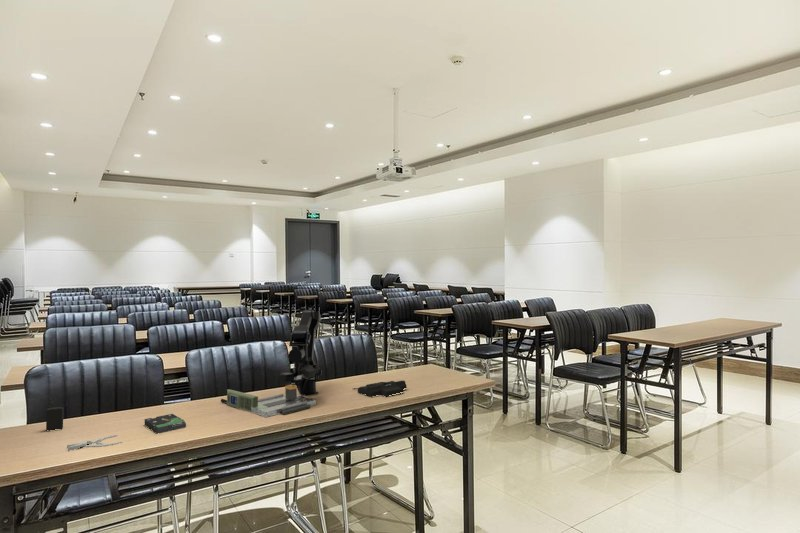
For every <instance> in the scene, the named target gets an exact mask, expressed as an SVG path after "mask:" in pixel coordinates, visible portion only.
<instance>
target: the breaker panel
mask: <svg viewBox="0 0 800 533" xmlns="http://www.w3.org/2000/svg"><path fill="white" fill-rule="evenodd" d="M304 401H307V405H308V404H309V405H310V407H311V406H315V405H317V404H316V399H314V398H312V397H307V396H305V395H301V394H297V399H294V400H288V399H286V396H285V395H283V396H282V397H278V398H273V399H269V400H265V401H260V402H258V406H255V407H251V411H252V412H253V414H256V415H258V416H261V417H263V418H268V417H273V416H276V415H281V414H282V413H279V411H280V410H281V409H282V407H284V406H288V405H292V404H296V403H300V402H304ZM252 412H251V413H252Z"/></svg>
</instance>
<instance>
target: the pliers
mask: <svg viewBox="0 0 800 533" xmlns="http://www.w3.org/2000/svg"><path fill="white" fill-rule="evenodd" d="M118 436H119V435H118V434H114V435H108V436H104V437H100V438H97V439H93V440H85V441H82V442H74V443H70V444H67V445H66V448H68V449H67V451H68V452H71V451H70V450H72V451H75V450H74V449H76V450H79V449H78V448H80V447H86V448H102V446H103V447H109V445H110V446H115V445H119V443H120V444H123V441H117V442H110V443H109V442H108V443H103V442H102V441H105V440H107V439H111V438H115V437H118ZM97 441H98V442H97ZM92 443H93V444H92ZM87 444H90V445H87ZM80 449H81V448H80Z"/></svg>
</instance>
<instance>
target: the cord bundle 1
mask: <svg viewBox="0 0 800 533" xmlns="http://www.w3.org/2000/svg"><path fill="white" fill-rule="evenodd" d="M307 409H311V406H310V405H309V404H308V405H307V401H304V402H300V403H296V404H292V405H288V406H284V407H282V409H281V410H280V411H279V413H281V414H282V415H284V416H285V415H287V414H292V413H296V412H299V411H304V410H307Z"/></svg>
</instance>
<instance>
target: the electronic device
mask: <svg viewBox="0 0 800 533" xmlns="http://www.w3.org/2000/svg"><path fill="white" fill-rule="evenodd" d="M404 388H407V383H406V381H405V380H397V381H395V380H390V381H379V382H374V383H368V384H366V385H365V386H364V385H363V386H359V387H356V388H353V390H357V393H359V394H361V393H362V394H361V395H363V394H366V395H368V396H367V397H369V396H371V397H370V398H373V397H372V396H376V395H384V396H389V395H392V394H396V393H400V392H403V393H404V391H403V389H404ZM407 389H408V388H407ZM366 395H365V396H366ZM384 396H383V397H384ZM376 397H377V396H376Z"/></svg>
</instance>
